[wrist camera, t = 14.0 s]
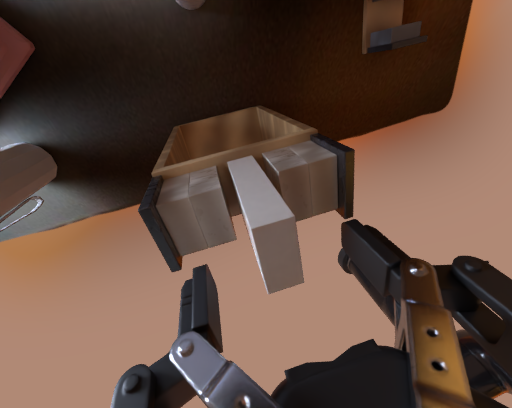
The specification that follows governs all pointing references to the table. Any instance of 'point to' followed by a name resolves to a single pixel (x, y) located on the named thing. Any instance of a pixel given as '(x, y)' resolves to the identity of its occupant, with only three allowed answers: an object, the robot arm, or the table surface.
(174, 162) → the birch stand
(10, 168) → the water bottle
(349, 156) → the wooden book holder
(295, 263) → the white book
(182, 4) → the energy drink
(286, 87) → the table surface
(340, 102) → the table surface
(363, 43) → the grey rack
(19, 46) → the yellow napkin holder
